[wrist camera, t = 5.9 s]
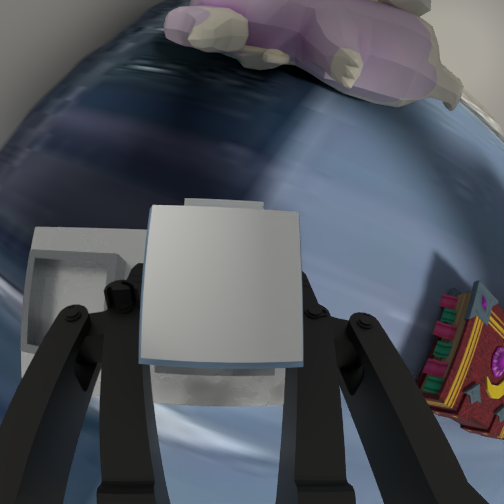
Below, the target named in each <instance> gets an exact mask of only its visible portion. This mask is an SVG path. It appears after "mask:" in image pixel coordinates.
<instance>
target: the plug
mask: <svg viewBox="0 0 504 504" xmlns="http://www.w3.org/2000/svg"><path fill="white" fill-rule="evenodd" d="M139 364H147V365H159V366H173V367H190V368H219V369H263V368H292V367H303V294H302V264H301V241H300V222H299V214H298V212H292V211H278V210H264V202H257V201H240V200H221V199H198V198H185V202H184V206H175V205H152V208H150V211H149V219H148V227H147V235H146V244H145V253H144V263H143V275H142V288H141V303H140V323H139Z"/></svg>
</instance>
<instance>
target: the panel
mask: <svg viewBox="0 0 504 504" xmlns="http://www.w3.org/2000/svg"><path fill="white" fill-rule="evenodd" d="M146 235H147V230H142V229H111V228H74V227H35V230H34V235H33V240H32V245H31V249H30V253H29V259H28V265H27V272H26V280H25V288H24V297H23V309H22V324H21V367H22V378H23V376H24V374H25V372H26V370H27V368H28V366H29V364H30V362H31V360H32V359H33V357H34V355H35V353H36V351H37V349H38V348H39V346H40V344H41V342H42V341H43V339H44V337H45V335H46V334H47V332H48V330H49V329H50V327H51V325H52V324H53V322H54V320H55V319H56V317H57V315H58V314H59V312H60V311H61V310H62V309H63V308H65V307H67V306H70V305H73V304H79V305H82V306H85V307H86V308H87V310H88V313H96V312H101V311H105V310H107V304H106V300H105V295H104V289H105V287H106V286H107V285H108V284H109V283H111V282H113V281H116V280H127V278H128V276H129V273H130V271H131V269H132V268H133V267H134V266H135V265H136V264H138V263H144V253H145V244H146ZM150 374H151V385H152V395H153V403H161V404H174V405H191V406H267V405H284V387H285V368H263V369H219V368H190V367H173V366H159V365H150ZM100 383H101V370H100V373H99V376H98V379H97V381H96V384H95V387H94V390H93V393H92V395H98V396H100Z"/></svg>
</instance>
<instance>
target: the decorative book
mask: <svg viewBox="0 0 504 504" xmlns="http://www.w3.org/2000/svg"><path fill="white" fill-rule="evenodd" d="M498 303H499V302H498V300H497V299H496V298H495V297H494V296H493V295H492V294H491V293H490V291H489V290H488V289H487V288H486V287H485V286H484V285H483V284H482V283H481V282H480V281H476V282H474V284H473V288H472V291H471V292H467V293H463V294H461V293H460V292H458V291H457V290H456V289H455V288H453V289H450V291H449V294H448V295H446V294H443V296H442V299H441V302H440V305H439V306H441V307H444V310H443V313H442V316H441V319H440V321H438V320H437V322H436V325H435V328H434V330H433V333H432V334H434V335H437V336H436V338H435V341H434V343H433V346H432V348H431V351H430V353H429V355H428V358H427V360H426V362H425V365H424V367H423V369H422V371H421V373H420V376H419V378H418V380H417V382H416V384H417V385H418V387H419V389H420V391H421V392H422V394H423V396H424V398H425V399H426V401H427V403H428V405H429V407H430V408H431V410H432V412H433V413H435V414H437V415H439V416H443V417H448V418H451V419H452V420H454V421H456V422H458V423H460V424H461V425H462V426H461V428H462V429H464V430H466V431H468V432H471V433H476V434H480V435H482V436H485V437H491V438H496V439H502V440H504V310H503V309H502V308H501V307H500V306H499V305H498Z"/></svg>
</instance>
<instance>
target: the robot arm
mask: <svg viewBox="0 0 504 504" xmlns="http://www.w3.org/2000/svg"><path fill="white" fill-rule="evenodd" d="M142 275H143V263H138V264H136V265H135V266H134V267H133V268H132V269H131V271H130V273H129V276H128V278H127V280H116V281H113V282H111V283H109V284H108V285H107V286H106V287H105V289H104V295H105V300H106V304H107V310H105V311H101V312H96V313H88V310H87V308H86V307H85V306H82V305H79V304H73V305H70V306H67V307H65V308H63V309H62V310H61V311H60V312H59V314H58V315H57V317H56V319H55V320H54V322H53V324H52V325H51V327H50V329H49V330H48V332H47V334H46V335H45V337H44V339H43V341H42V342H41V344H40V346H39V348H38V349H37V351H36V353H35V355H34V357H33V359H32V360H31V362H30V364H29V366H28V368H27V370H26V372H25V374H24V376H23V378H22V380H21V382H20V384H19V386H18V388H17V390H16V392H15V394H14V396H13V399H12V401H11V403H10V405H9V407H8V410H7V412H6V414H5V417H4V419H3V421H2V424H1V426H0V504H63V500H64V495H65V490H66V486H67V481H68V477H69V473H70V468H71V464H72V460H73V457H74V453H75V449H76V445H77V442H78V438H79V435H80V431H81V428H82V424H83V421H84V418H85V415H86V411H87V408H88V405H89V402H90V399H91V396H92V393H93V390H94V387H95V384H96V381H97V379H98V376H99V373H100V370H101V383H100V459H101V474H102V482H101V485H100V486H99V487H98V489H97V504H170V500H169V496H168V491H167V487H166V482H165V477H164V471H163V466H162V460H161V454H160V448H159V442H158V435H157V428H156V421H155V413H154V404H153V395H152V385H151V374H150V365H147V364H139V323H140V303H141V288H142ZM302 294H303V367H292V368H285V387H284V405H283V421H282V436H281V450H280V462H279V474H278V485H277V496H276V504H356V498H355V491H354V489H353V486H351V485H350V484H349V483H348V482H347V479H346V464H345V446H344V432H343V419H342V408H341V397H340V388H341V390H342V393H343V395H344V398H345V400H346V403H347V406H348V408H349V411H350V413H351V416H352V418H353V421H354V423H355V426H356V429H357V431H358V434H359V436H360V439H361V442H362V444H363V447H364V450H365V452H366V455H367V458H368V460H369V463H370V466H371V468H372V471H373V474H374V477H375V479H376V482H377V485H378V488H379V490H380V493H381V496H382V499H383V502H384V504H489V503H488V502H487V501H486V500H485V499H484V498H483V497H482V496H481V495H480V494H479V493H478V492H477V491H476V490H475V489H474V488H473V487H472V486H471V485H470V484H469V483H468V482H467V479H466V477H465V475H464V473H463V471H462V469H461V467H460V465H459V462H458V460H457V458H456V456H455V454H454V452H453V450H452V448H451V446H450V444H449V442H448V440H447V438H446V437H445V435H444V433H443V431H442V429H441V427H440V425H439V423H438V421H437V419H436V418H435V416H434V414H433V412H432V410H431V408H430V407H429V405H428V403H427V401H426V399H425V398H424V396H423V394H422V392H421V391H420V389H419V387H418V385H417V384H416V382H415V380H414V378H413V377H412V375H411V373H410V372H409V370H408V368H407V367H406V365H405V363H404V362H403V360H402V358H401V357H400V355H399V353H398V352H397V350H396V348H395V347H394V345H393V344H392V342H391V340H390V339H389V337H388V336H387V334H386V332H385V331H384V329H383V328H382V326H381V325H380V323H379V321H378V320H377V319H376V318H375V317H373V316H371V315H370V314H367V313H360V312H358V313H354V314H353V315H351V316H350V319H349V321H348V320H343V319H338V318H334V317H332V316H330V313H329V311H328V310H327V309H326V308H325V307H323V306H322V305H320V304H318V302H317V299H316V297H315V295H314V292H313V290H312V288H311V285H310V283H309V281H308V278H307V276H306V274H305V273H304V272H303V271H302ZM339 385H340V387H339Z"/></svg>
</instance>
